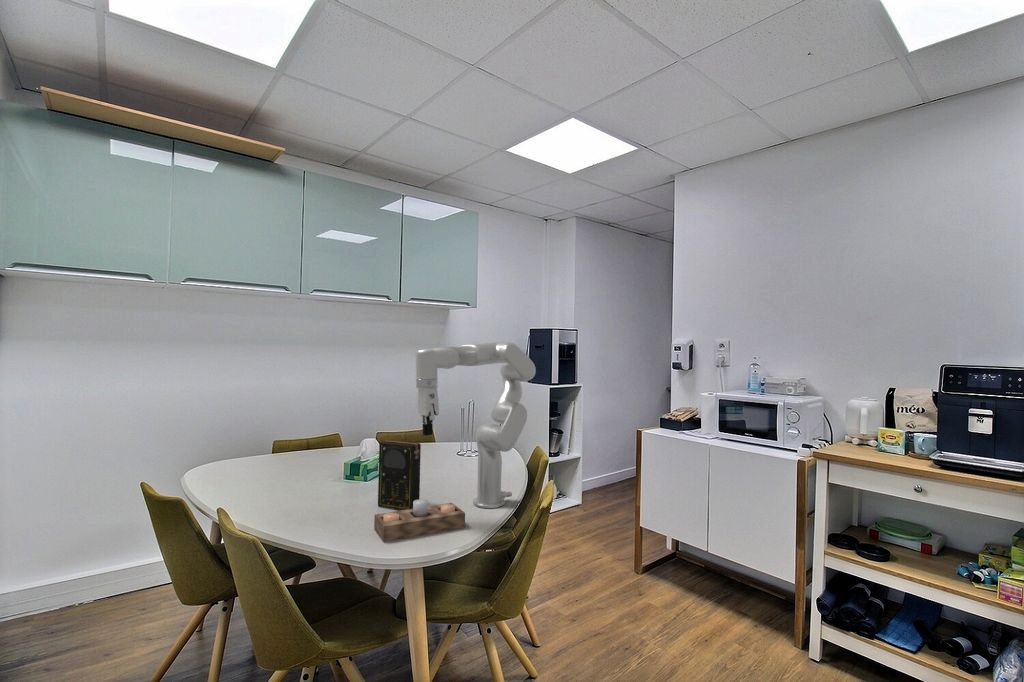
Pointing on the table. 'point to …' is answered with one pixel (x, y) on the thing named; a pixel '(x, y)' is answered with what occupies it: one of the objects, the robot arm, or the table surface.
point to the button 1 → (391, 517)
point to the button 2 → (447, 508)
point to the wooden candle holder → (418, 523)
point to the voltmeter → (398, 474)
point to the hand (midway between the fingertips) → (427, 434)
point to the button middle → (420, 508)
